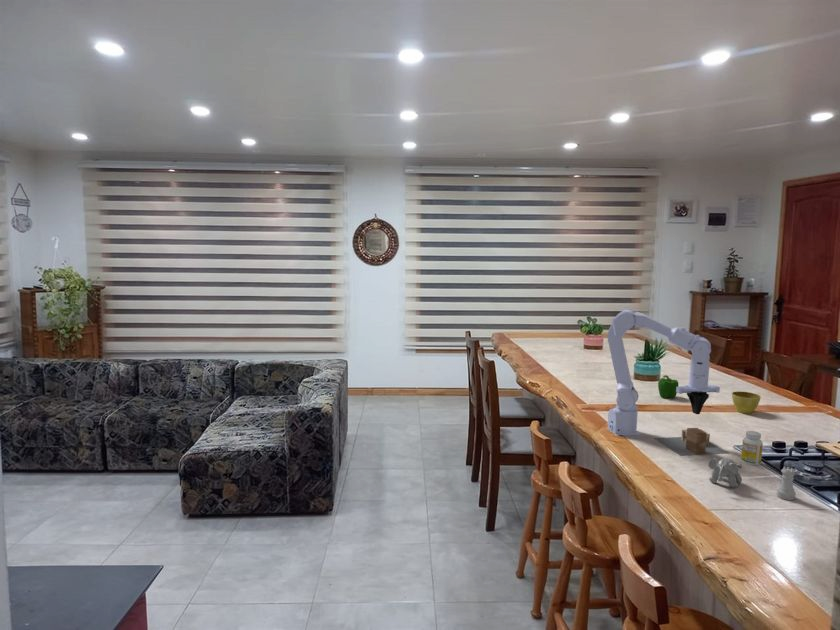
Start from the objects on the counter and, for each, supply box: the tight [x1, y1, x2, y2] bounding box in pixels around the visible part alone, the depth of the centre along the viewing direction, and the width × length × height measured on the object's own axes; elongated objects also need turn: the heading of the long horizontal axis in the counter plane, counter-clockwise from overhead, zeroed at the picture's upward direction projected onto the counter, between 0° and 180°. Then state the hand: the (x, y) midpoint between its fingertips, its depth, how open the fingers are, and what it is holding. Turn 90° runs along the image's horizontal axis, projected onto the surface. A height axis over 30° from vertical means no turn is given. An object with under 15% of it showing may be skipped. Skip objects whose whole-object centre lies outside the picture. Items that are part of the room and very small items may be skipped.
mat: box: [653, 436, 729, 457], centre depth 187 cm, size 17×16×1 cm
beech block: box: [681, 428, 711, 444], centre depth 190 cm, size 4×5×7 cm
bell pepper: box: [657, 374, 680, 399], centre depth 245 cm, size 8×8×10 cm
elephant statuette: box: [708, 457, 743, 489], centre depth 157 cm, size 9×12×8 cm
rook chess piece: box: [776, 466, 797, 501], centre depth 149 cm, size 4×4×8 cm
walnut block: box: [686, 427, 708, 454], centre depth 181 cm, size 4×5×7 cm
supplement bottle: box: [740, 430, 764, 466], centre depth 173 cm, size 5×5×10 cm
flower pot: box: [731, 390, 762, 415], centre depth 225 cm, size 10×10×7 cm
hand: (696, 413), depth 189 cm, fingers closed
